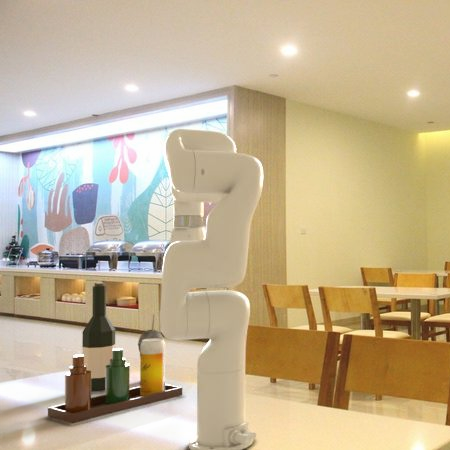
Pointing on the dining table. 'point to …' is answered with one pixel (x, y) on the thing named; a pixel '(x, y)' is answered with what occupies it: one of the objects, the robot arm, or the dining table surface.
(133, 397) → the tray
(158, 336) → the beverage cup
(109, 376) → the green bottle
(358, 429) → the dining table surface
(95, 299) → the wine bottle
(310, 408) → the dining table surface
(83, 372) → the amber bottle
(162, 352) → the beer can
